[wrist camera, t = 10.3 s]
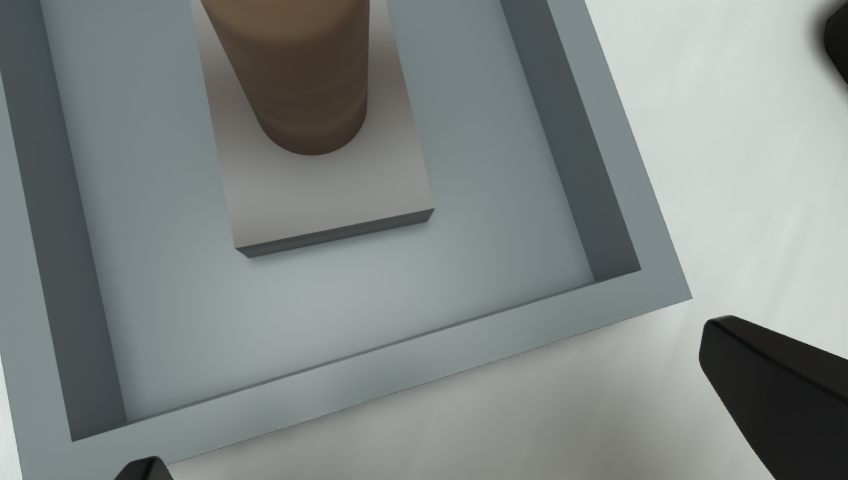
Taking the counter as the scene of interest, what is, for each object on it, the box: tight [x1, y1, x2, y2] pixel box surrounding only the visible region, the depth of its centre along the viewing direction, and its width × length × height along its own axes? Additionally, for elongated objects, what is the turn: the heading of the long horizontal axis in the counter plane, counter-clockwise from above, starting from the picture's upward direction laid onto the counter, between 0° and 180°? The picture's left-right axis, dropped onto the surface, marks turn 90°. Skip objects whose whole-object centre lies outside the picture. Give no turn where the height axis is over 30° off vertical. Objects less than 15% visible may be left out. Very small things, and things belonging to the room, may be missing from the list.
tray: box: [0, 0, 693, 480], centre depth 17 cm, size 18×18×4 cm
